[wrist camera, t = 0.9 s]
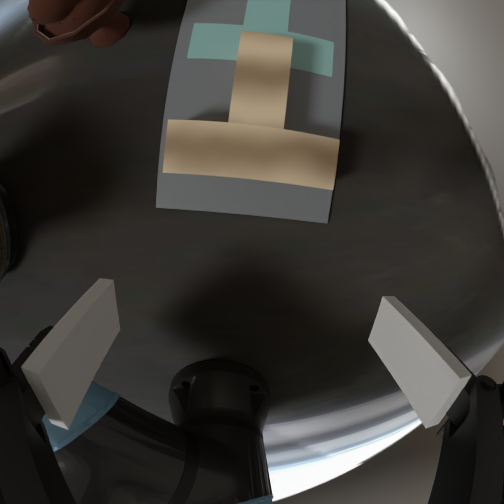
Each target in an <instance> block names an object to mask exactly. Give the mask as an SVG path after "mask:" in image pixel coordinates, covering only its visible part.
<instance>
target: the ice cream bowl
mask: <svg viewBox="0 0 504 504" xmlns="http://www.w3.org/2000/svg"><path fill="white" fill-rule="evenodd" d="M125 1H126V0H29V5H28V8H27V9H28V11H29V17H30V18H31V20H32V22H33V24H35V27H34V35H36V36H37V37H38V38H40V39H41V40H43V41H44V42H45V43H47V44H52V45H60V44H65V43H69V42H73V41H77V40H81V39H85V38H87V37H89V36H90V41H91V43H92V44H94V45H95V46H97V47H98V48H99V47H105V46H111V45H112V44H113V43H115V42H116V41H118V40H119V39H121V38H122V37H123V36H124V34H125V33H126V31H127V29H128V28H129V17H128V16H126V15H124V14H122V13H120V12H118V10H119V9H120V7H121V6H122V5H123V3H124V2H125Z"/></svg>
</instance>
